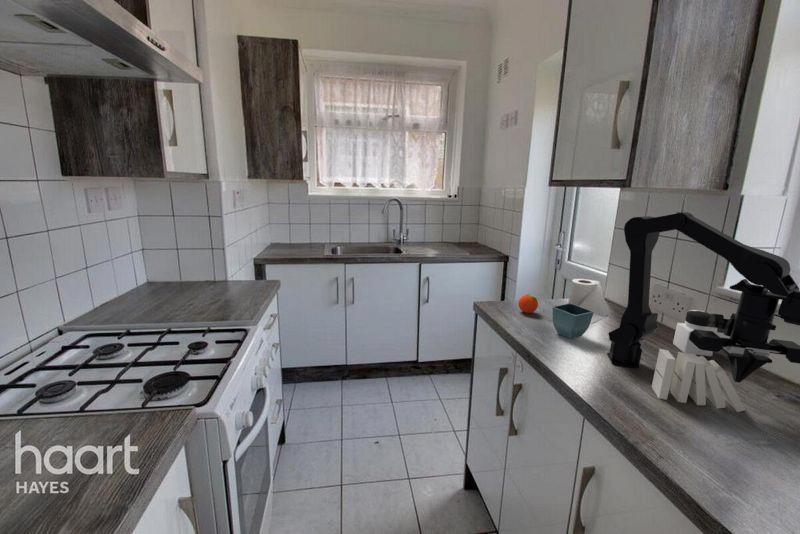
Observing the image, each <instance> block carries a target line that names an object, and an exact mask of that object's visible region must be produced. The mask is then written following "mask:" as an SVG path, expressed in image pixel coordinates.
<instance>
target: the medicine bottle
mask: <svg viewBox="0 0 800 534" xmlns="http://www.w3.org/2000/svg"><path fill="white" fill-rule="evenodd" d="M711 314H712V313H709V312H706V311H703V310H699V309H691V310H688V311H686V315H685V320H684V322H677V324H676V328H675V333H674V337H673V341H672V344H673V345H674V346H675V347H676V348H677V349H679V351H680V352H684V353H687V354H692V353H694V354H695V355H696V356H703V357H713V354H714V352H713V351H706V350H701V349H699V348H698V347H696V346H695V345H694V344H693V343H692V342H691V341H690V340H689V336H690V333H691V332H692V331H693V330H695V329H698V330H705V331H713V330H712V329H711V328H712V327H709V318H710V315H711ZM713 332H714V333H715V334H717V335H718V332H715V331H713Z"/></svg>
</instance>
